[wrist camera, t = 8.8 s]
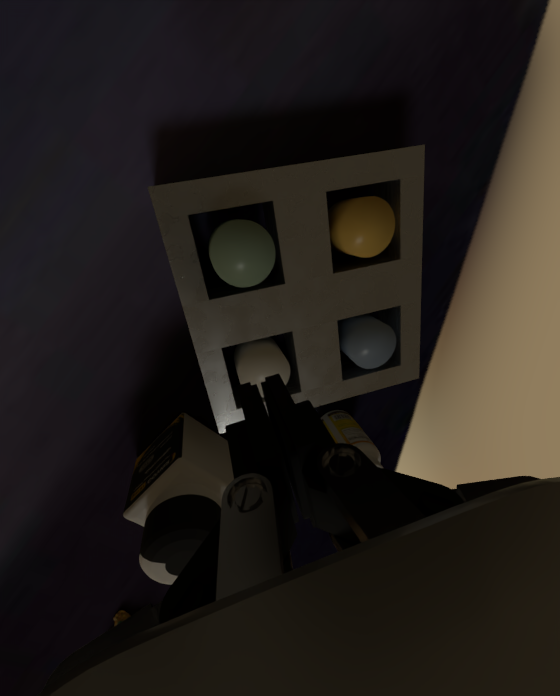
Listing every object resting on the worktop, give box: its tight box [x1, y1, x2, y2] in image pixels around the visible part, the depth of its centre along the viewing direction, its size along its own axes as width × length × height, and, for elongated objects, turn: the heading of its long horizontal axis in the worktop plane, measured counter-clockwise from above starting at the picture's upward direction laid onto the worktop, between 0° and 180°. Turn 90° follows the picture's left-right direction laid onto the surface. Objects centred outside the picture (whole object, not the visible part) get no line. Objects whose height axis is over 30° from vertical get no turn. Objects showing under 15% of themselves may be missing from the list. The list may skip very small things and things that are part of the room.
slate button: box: [337, 313, 396, 369], centre depth 30 cm, size 4×4×4 cm
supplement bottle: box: [321, 410, 383, 468], centre depth 33 cm, size 5×5×8 cm
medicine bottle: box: [123, 413, 234, 584], centre depth 28 cm, size 7×7×12 cm
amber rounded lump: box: [328, 196, 395, 258], centre depth 26 cm, size 4×4×4 cm
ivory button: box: [234, 337, 290, 397], centre depth 29 cm, size 4×4×4 cm
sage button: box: [208, 219, 275, 287], centre depth 24 cm, size 4×4×4 cm
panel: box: [148, 145, 425, 434], centre depth 28 cm, size 20×20×4 cm
